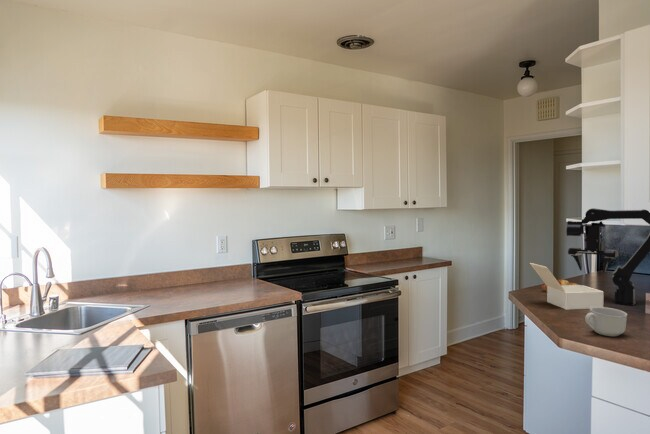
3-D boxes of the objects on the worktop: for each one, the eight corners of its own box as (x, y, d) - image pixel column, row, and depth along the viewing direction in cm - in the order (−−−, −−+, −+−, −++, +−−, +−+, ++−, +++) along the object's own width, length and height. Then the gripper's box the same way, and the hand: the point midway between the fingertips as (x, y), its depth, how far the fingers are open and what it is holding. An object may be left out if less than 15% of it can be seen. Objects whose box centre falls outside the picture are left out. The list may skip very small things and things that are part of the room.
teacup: (612, 328, 158) (612, 306, 158) (634, 338, 147) (635, 314, 147) (573, 329, 157) (573, 307, 157) (593, 339, 147) (593, 315, 146)
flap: (530, 262, 198) (529, 263, 198) (546, 267, 185) (545, 267, 185) (547, 285, 199) (547, 286, 199) (565, 291, 186) (564, 292, 186)
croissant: (590, 301, 214) (591, 285, 217) (590, 295, 206) (591, 278, 209) (541, 296, 225) (542, 281, 228) (539, 290, 217) (540, 274, 220)
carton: (582, 300, 201) (582, 285, 201) (604, 308, 186) (604, 291, 186) (546, 301, 200) (546, 286, 200) (566, 309, 185) (566, 292, 185)
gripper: (622, 236, 199) (621, 271, 199) (576, 234, 212) (575, 267, 213) (615, 238, 191) (614, 274, 192) (567, 236, 205) (567, 270, 205)
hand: (592, 271), depth 201 cm, fingers open, 9 cm apart
